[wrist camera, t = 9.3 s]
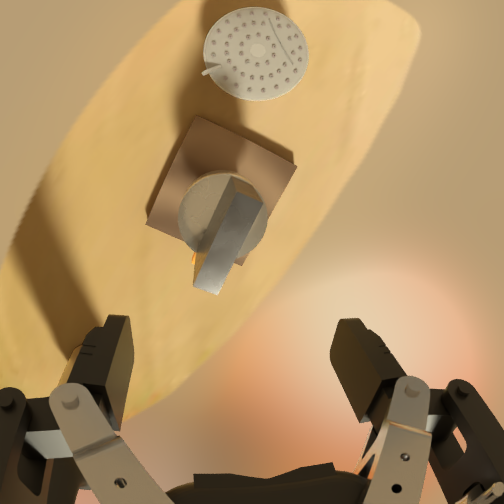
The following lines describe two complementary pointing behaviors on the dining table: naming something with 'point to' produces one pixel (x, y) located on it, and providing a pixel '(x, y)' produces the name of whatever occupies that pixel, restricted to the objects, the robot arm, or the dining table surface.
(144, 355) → the dining table surface
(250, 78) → the showerhead
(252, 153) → the post base
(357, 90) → the dining table surface
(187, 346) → the dining table surface
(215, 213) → the knob
